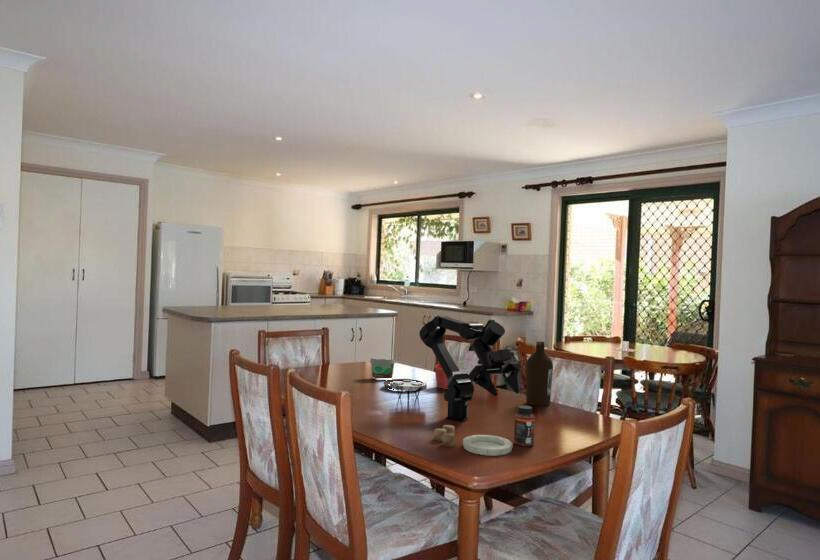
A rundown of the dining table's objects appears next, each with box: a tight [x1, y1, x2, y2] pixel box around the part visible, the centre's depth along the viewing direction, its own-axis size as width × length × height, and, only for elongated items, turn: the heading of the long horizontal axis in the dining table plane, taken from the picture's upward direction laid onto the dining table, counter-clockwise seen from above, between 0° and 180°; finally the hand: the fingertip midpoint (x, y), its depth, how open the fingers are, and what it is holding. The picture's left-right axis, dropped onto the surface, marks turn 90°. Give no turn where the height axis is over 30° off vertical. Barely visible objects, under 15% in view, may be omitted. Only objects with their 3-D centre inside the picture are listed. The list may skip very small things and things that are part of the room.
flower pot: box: [434, 364, 461, 390], centre depth 245 cm, size 11×11×10 cm
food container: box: [369, 356, 396, 379], centre depth 259 cm, size 12×6×10 cm, turn 81°
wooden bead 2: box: [442, 424, 455, 435], centre depth 171 cm, size 4×4×3 cm
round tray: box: [462, 434, 513, 457], centre depth 161 cm, size 14×14×2 cm
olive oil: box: [525, 340, 554, 407], centre depth 221 cm, size 11×11×25 cm
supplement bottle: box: [513, 405, 536, 447], centre depth 165 cm, size 6×6×11 cm
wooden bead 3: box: [442, 433, 456, 448], centre depth 162 cm, size 4×4×3 cm
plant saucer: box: [382, 378, 425, 390], centre depth 240 cm, size 18×18×3 cm
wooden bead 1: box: [433, 427, 446, 442], centre depth 167 cm, size 4×4×3 cm
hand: (507, 394), depth 172 cm, fingers open, 9 cm apart
